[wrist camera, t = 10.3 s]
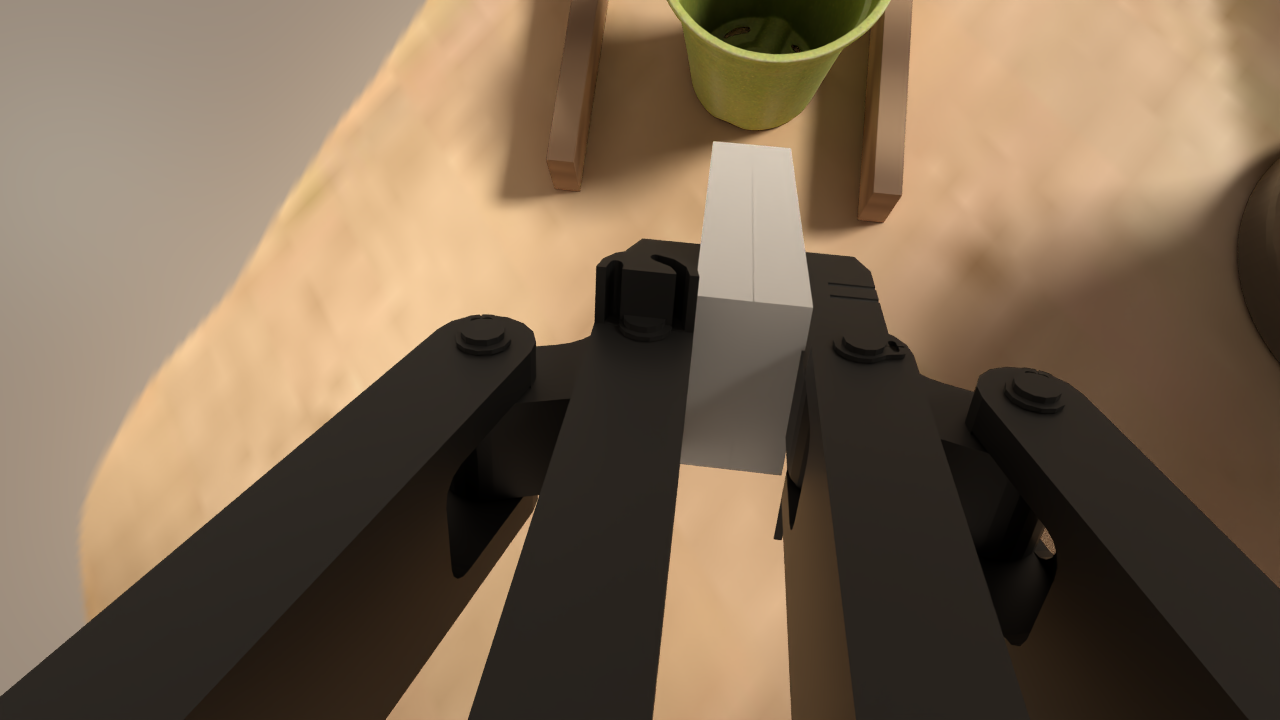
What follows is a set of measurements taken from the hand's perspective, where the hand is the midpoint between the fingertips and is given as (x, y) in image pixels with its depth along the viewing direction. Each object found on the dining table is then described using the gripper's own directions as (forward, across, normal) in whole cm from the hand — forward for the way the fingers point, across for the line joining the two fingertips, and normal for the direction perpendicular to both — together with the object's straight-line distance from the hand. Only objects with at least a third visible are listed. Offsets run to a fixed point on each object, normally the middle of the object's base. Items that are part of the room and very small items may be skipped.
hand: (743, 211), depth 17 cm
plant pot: (+26, +1, -3) cm, 27 cm away
